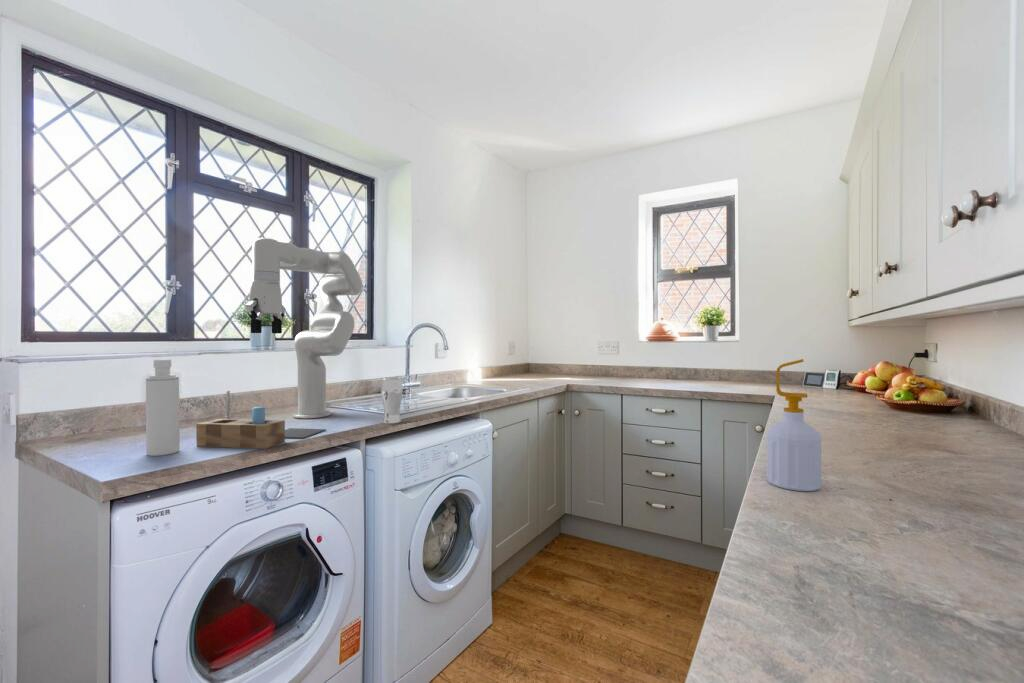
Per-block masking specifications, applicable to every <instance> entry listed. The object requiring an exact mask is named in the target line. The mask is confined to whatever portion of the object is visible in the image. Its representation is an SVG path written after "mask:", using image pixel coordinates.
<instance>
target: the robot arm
mask: <svg viewBox="0 0 1024 683" xmlns="http://www.w3.org/2000/svg"><path fill="white" fill-rule="evenodd" d="M281 270H287V271H295V272H305V273H311V274H318V275H323V276H322V277H321V278H320V280H319V283H318V288H319V292H320V294H319V295H320V299H321V304H320V306H319V307H318V309H317V311H316V313H315V314H314V316H313V317H312V320H311V322H310V326H309V328H310V329H307V330H306V329H305V330H302V331H300V332H298V334H296V335H295V338H294V342H293V343H294V348H295V353H296V361H297V412H293V414H292V415H293V418H295V419H319V418H324V417H329V416H331V411H329V410H327V408H330V407H331V405H332V404H331V402H329V401H328V402H327V368H326V364H325V362H324V361H323V359H322V357H337V356H339V355H341V354H342V353H343V352H344V351H345V348H346V347H347V344H348V343H349V341H350V339H351V337H352V336H353V333H354V330H355V318H354V316H353V315H352V314H351V313H350V312H348V311H345V310H344V306H343V303H342V302H341V301H340V300H339V299H338V297H337V296H357V295H359V294H360V293H361V292H362V290H363V280H362V277H361V275H360V274H359V271H358V270H357V268H356V266H355V264H354V262H353V260H352V259H351V257H350V256H349V255H348V254H347V253H346V252H344V251H321V250H318V249H317V250H316V249H313V248H309V247H298V246H297V245H295V244H294V243H290V242H289V243H288V242H283V241H282V242H281V241H278V240H276V239H273V238H269V237H268V238H267V237H258V238H255V239H253V241H252V281H251V283H250V287H249V294H248V296H249V297H248V302H247V303H246V304H245V309H246V311H247V315H248V317H249V320H250V333H251V334H262V329H263V328H262V319H261V318H262V316H268V315H270V317H271V319H272V321H271V333H272V334H282V333H283V327H282V326H283V324H282V323H283V321H284V317H285V312H286V307H285V306H284V305H283V301H282V299H283V298H282V290H281Z"/></svg>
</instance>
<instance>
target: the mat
mask: <svg viewBox="0 0 1024 683" xmlns="http://www.w3.org/2000/svg"><path fill="white" fill-rule="evenodd" d="M325 431H327V430H326V428H300V427H299V428H297V427H295V428H294V427H293V428H292V427H291V428H285V439H293V440H294V439H298V440H304V439H307V438H309V437H312V436H315V435H317V434H321V433H323V432H325Z"/></svg>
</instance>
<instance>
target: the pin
mask: <svg viewBox="0 0 1024 683" xmlns="http://www.w3.org/2000/svg"><path fill="white" fill-rule="evenodd" d="M251 411H252V412H251V417H252V418H251V419H252V424H263V423H265V420H266V407H265V406H254V407H252V408H251Z"/></svg>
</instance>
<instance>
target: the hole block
mask: <svg viewBox="0 0 1024 683" xmlns="http://www.w3.org/2000/svg"><path fill="white" fill-rule="evenodd" d="M285 427H286V420H285V419H265V423H263V424H252V418H251V419H250V418H230V419H225V418H215V419H212V420H211V419H210V420H207V421H203V422H198V423H196V436H195V437H196V447H206V448H207V447H208V448H209V447H211V448H234V449H235V448H237V449H238V448H240V449H244V448H245V449H265V450H266V449H268V448H271V447H275V446H277V445H280V444H283V443H285V442H286V440H285V439H286V438H285V430H286V428H285Z"/></svg>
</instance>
